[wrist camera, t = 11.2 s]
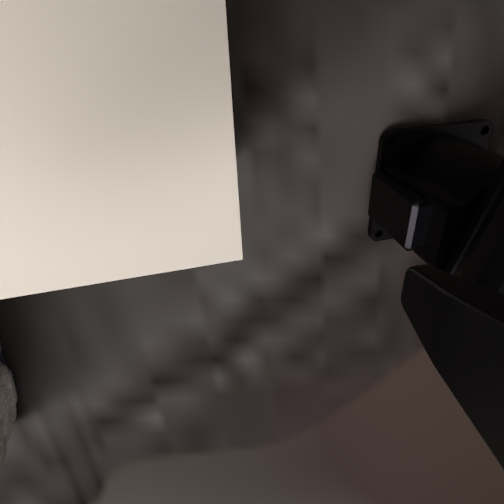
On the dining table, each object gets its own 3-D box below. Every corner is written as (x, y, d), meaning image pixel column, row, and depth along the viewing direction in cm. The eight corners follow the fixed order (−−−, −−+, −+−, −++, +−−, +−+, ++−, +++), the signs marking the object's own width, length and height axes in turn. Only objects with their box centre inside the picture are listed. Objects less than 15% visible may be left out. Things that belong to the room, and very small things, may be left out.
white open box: (182, -81, 15) (215, -142, 8) (209, 174, 20) (242, 259, 14) (-103, -76, 13) (-336, -145, 7) (7, 200, 19) (-64, 310, 12)
